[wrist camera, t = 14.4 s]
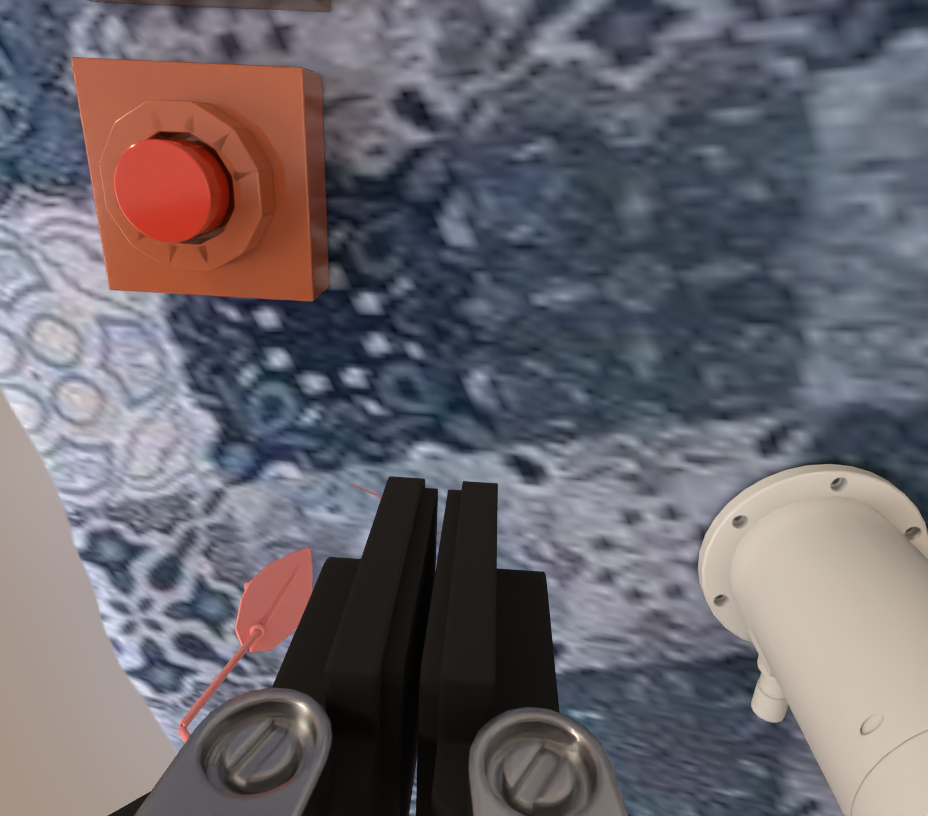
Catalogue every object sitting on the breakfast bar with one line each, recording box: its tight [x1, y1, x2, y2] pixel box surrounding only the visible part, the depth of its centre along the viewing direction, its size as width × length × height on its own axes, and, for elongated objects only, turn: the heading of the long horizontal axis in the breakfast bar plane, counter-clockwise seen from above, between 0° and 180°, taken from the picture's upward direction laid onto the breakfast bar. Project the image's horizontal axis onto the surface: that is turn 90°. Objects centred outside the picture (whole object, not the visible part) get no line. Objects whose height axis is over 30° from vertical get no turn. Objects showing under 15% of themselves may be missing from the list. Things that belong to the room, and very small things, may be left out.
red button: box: [114, 139, 230, 243], centre depth 27 cm, size 4×4×2 cm
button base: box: [71, 57, 329, 301], centre depth 30 cm, size 10×10×5 cm
